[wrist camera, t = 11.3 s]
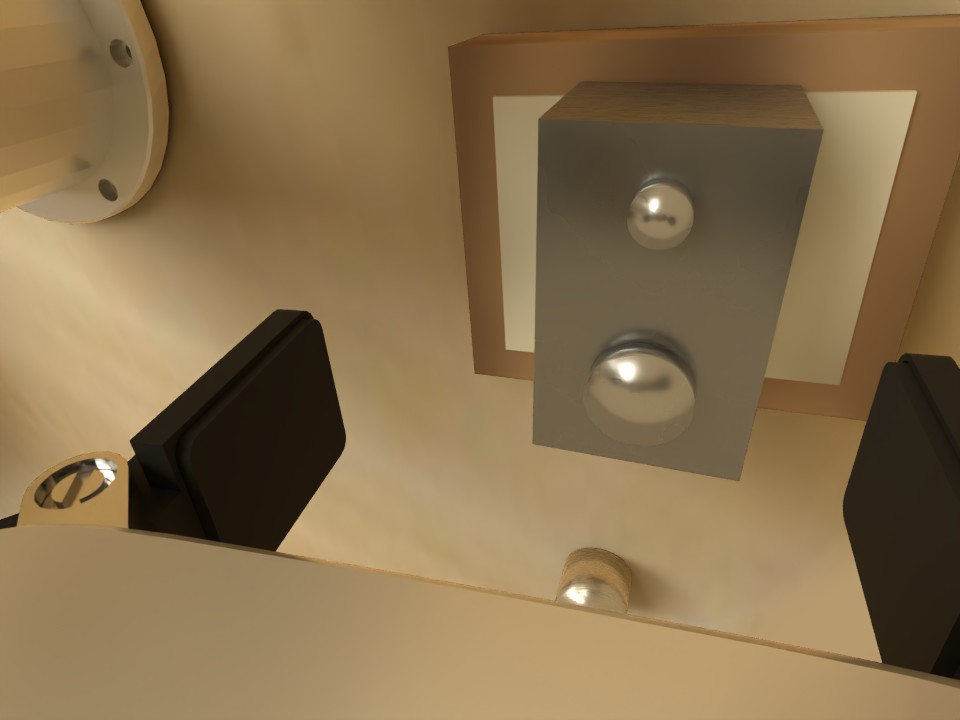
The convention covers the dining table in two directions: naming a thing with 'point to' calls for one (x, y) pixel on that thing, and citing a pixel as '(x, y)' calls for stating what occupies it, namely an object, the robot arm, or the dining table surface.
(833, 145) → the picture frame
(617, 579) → the cylinder
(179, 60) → the dining table surface
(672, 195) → the housing
